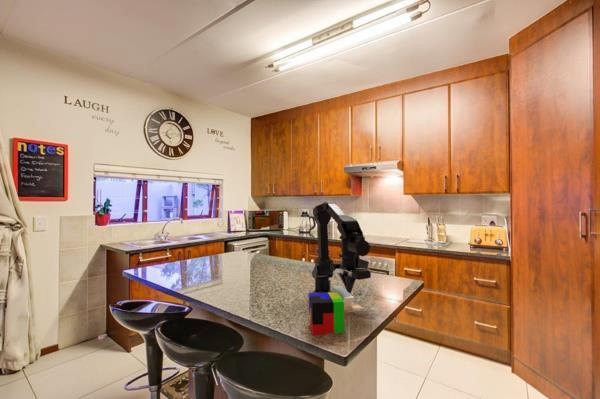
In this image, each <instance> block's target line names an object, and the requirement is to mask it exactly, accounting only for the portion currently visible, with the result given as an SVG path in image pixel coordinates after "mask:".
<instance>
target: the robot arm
mask: <svg viewBox="0 0 600 399" xmlns="http://www.w3.org/2000/svg"><path fill="white" fill-rule="evenodd" d="M312 216H313V220H314V222H315V223H316V225H317V254H318V256H317V257H316V259H315V261H314V267H313V269H312V272H311V277H312V278H313V279H314V281H315V282H314V286H315V288H314V290H313V291H314V292H313V293H328V292H330V290H332V289H331V288H332V283H331V282H332V280H331V279H330V278H333V276H334V271H336V270H339V272H338V273H337V274H338V276H339V277H340V279H341V281H342V283H343V285H344V287H345V288H344V289H345V290H346V291H347V292H349V293H350V294H351V293H352V291H353V288H354V285H355V281H356V280H357V281H360V280H366V279H367V280H368V279H371V278H372V277H371V276H372V275H371V274H372V272H371V271H370V270H369V263H370V261H368V260H366V259H362V258H360V257H366V256H367V255H368V254H369V253H370V251H371V246H370V244H369V242H368V241H367V240H366V237H365V236H364V231H362V229H361V226H360V224H359V221H358V220H357V219H355V218H354V217H352V216H348V215H347V214H346V213H345V212H344V211H343V210H342V209H341V208H340V207H339V206H338V205H337V203H336V202H335V201H323V203H321V204H318V205H316V206H314V208H313V209H312ZM331 220H334V222H335V223H336V225H337V226H336V229H337V230H338V232H339V234H340V235H339V237H338V238H339V240H340V243H341V245H340V246H341V248H340V249H341V253H340V254H338V257H339V258H341V261H335V262H334V261H333V259H331V257H330V254H329V253H330V251H329V227H328V226H329V224H330V221H331Z"/></svg>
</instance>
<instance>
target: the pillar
mask: <svg viewBox="0 0 600 399" xmlns="http://www.w3.org/2000/svg"><path fill="white" fill-rule="evenodd" d="M331 288H332V289H331V292H337V293H338V294H339V295H340V297H341V298H342V300H343V301H344V308H347V307H351V306H352V304H353V303H354V298H355V297H354V296H353V295H352V294H351V293H349V292H347V290H346V288H344V287H343V286H342V285H341V284H340V285H335V286H331Z"/></svg>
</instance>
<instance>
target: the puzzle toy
mask: <svg viewBox="0 0 600 399" xmlns="http://www.w3.org/2000/svg"><path fill="white" fill-rule="evenodd" d="M308 322H309V326H310V329H311V334H312V336H327V334H341V333H342V334H343V333H346V332H345V314H344V301H343V300H342V298H341V297H340V295H339V294H338V293H337V292H332V291H331V292H330V291H329V292H328V293H324V292H309V293H308Z"/></svg>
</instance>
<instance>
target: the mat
mask: <svg viewBox="0 0 600 399" xmlns="http://www.w3.org/2000/svg"><path fill="white" fill-rule="evenodd" d="M365 309H366V307H363V306H362V305H359V304H357V303H354V302H353V304H352V306H351V307H347V308H344V315H345V314H349V313H353V312H357V311H362V310H365Z"/></svg>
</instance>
